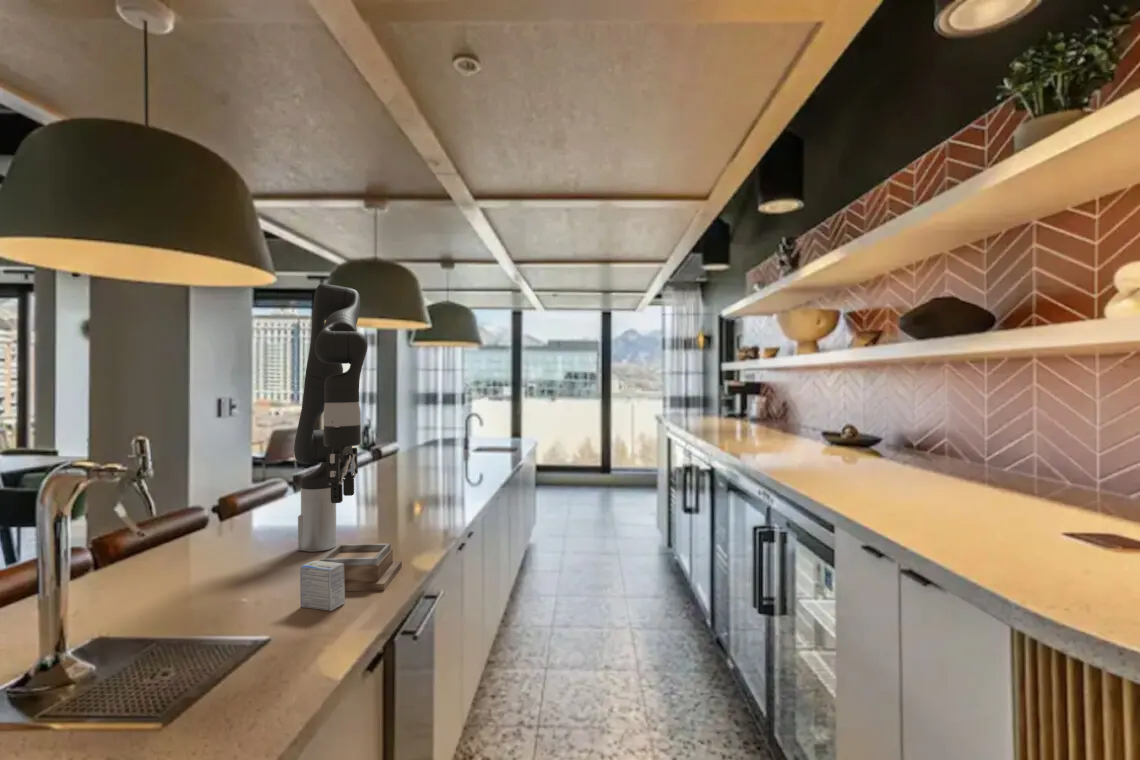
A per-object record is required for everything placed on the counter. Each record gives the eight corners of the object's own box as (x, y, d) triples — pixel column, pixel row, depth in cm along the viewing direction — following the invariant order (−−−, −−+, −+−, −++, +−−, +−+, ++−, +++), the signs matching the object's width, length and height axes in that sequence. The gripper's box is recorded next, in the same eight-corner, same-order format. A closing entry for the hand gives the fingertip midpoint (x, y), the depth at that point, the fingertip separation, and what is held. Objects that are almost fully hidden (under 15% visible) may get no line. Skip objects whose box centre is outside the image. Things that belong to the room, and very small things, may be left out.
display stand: (306, 592, 133) (306, 562, 133) (333, 568, 150) (332, 542, 150) (384, 590, 134) (384, 561, 134) (401, 566, 150) (401, 541, 151)
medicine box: (345, 604, 125) (345, 563, 125) (330, 612, 121) (330, 569, 121) (315, 600, 128) (315, 559, 128) (299, 607, 124) (299, 565, 124)
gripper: (334, 422, 135) (335, 493, 135) (312, 425, 121) (313, 506, 121) (368, 421, 136) (369, 492, 136) (350, 425, 122) (351, 504, 122)
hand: (342, 499), depth 128 cm, fingers open, 8 cm apart
